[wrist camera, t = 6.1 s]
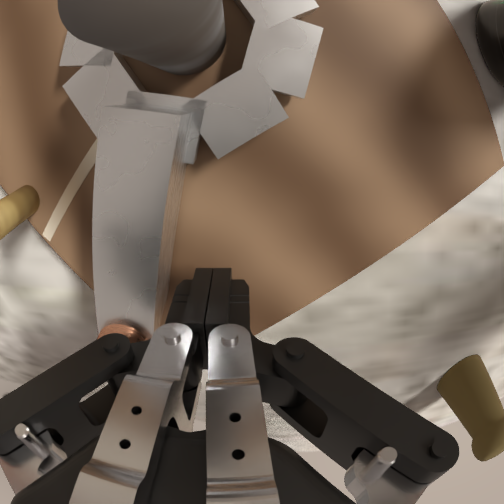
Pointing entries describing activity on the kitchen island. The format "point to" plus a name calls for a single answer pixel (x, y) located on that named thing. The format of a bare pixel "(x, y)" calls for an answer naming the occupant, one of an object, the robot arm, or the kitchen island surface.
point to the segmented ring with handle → (171, 151)
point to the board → (255, 138)
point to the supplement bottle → (492, 36)
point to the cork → (475, 405)
